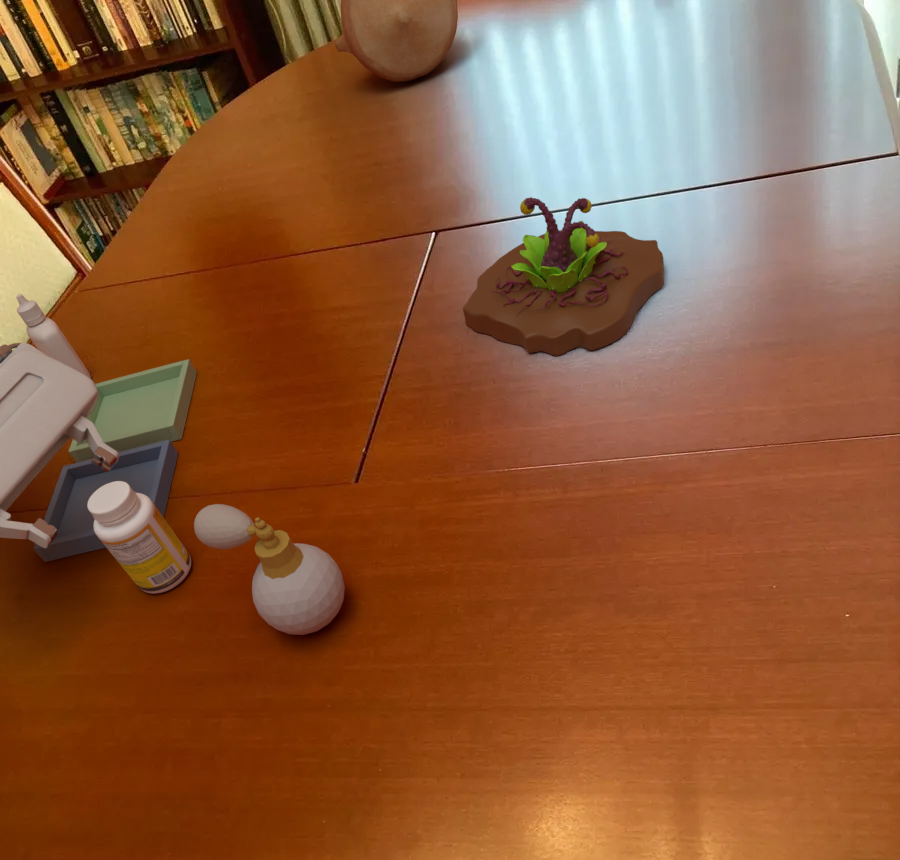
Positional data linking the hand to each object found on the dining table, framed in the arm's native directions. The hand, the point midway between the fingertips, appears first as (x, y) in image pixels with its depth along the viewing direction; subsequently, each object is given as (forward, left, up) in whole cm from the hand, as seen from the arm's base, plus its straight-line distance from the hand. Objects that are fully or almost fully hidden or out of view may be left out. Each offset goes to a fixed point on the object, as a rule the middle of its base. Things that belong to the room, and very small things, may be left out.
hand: (84, 500), depth 78 cm
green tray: (-5, +25, -9) cm, 27 cm away
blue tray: (-5, +10, -9) cm, 15 cm away
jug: (+30, +113, -9) cm, 118 cm away
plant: (+45, +27, -9) cm, 54 cm away
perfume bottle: (+17, -11, -9) cm, 22 cm away
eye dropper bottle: (-16, +37, -9) cm, 42 cm away
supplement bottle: (+3, -2, -9) cm, 10 cm away
